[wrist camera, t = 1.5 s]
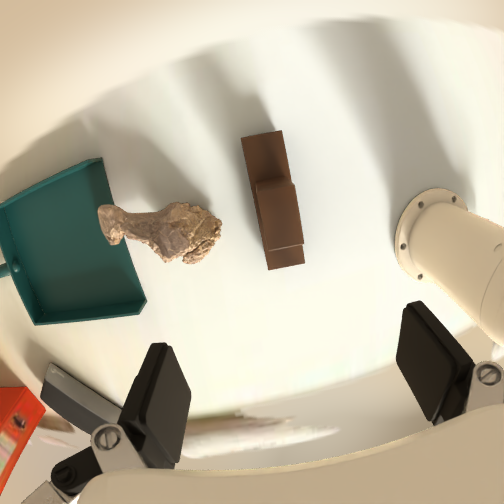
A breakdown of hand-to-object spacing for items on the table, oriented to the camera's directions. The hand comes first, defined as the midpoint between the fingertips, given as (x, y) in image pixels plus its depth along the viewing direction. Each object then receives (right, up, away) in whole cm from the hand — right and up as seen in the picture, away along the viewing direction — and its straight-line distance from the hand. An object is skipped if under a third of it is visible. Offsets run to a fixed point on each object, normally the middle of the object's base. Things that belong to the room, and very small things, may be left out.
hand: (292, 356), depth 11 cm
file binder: (-60, -33, +36) cm, 77 cm away
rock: (-12, +7, +21) cm, 25 cm away
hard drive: (-34, -26, +34) cm, 55 cm away
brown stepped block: (+1, +10, +20) cm, 22 cm away
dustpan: (-32, +3, +23) cm, 39 cm away
